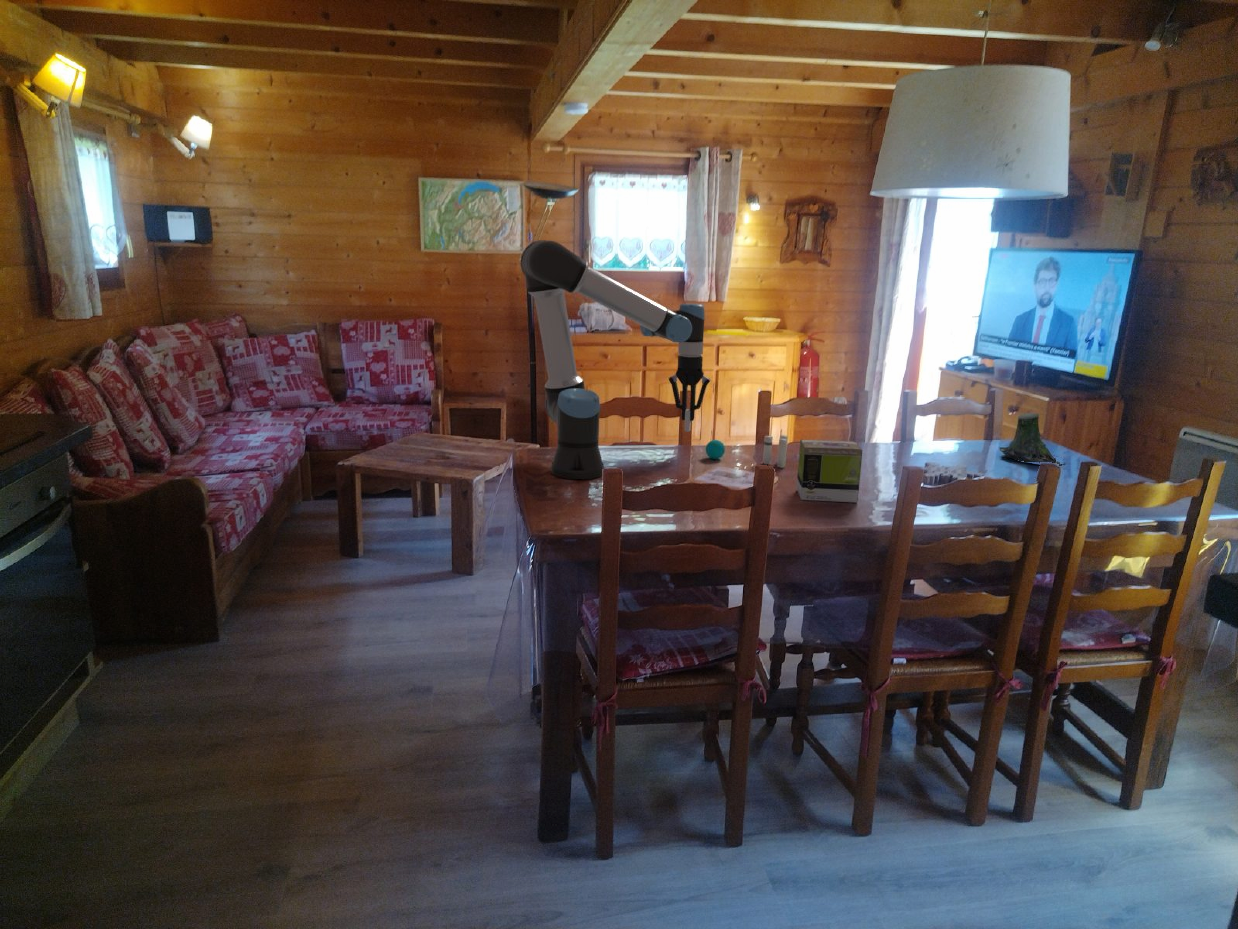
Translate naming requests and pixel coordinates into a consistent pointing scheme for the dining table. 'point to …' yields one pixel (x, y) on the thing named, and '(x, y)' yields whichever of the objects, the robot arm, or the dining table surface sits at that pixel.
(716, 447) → the ball
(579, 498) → the dining table surface
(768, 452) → the front pin
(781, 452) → the pin
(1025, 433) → the tree stump
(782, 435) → the pin
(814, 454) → the tea box
